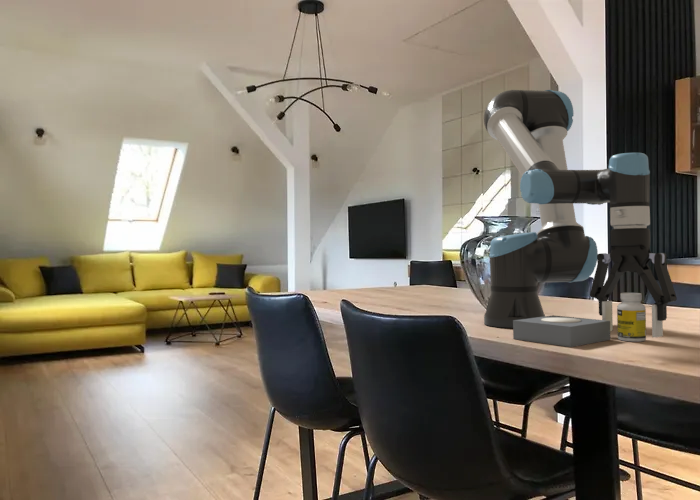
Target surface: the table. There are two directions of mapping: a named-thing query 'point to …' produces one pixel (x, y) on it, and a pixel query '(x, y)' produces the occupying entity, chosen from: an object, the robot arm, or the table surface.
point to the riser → (561, 330)
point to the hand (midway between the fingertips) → (631, 333)
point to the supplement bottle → (631, 318)
